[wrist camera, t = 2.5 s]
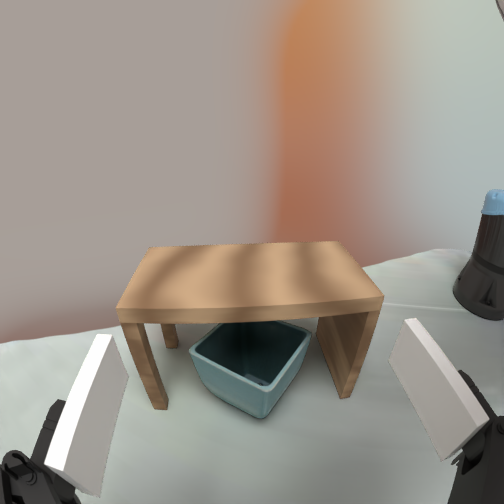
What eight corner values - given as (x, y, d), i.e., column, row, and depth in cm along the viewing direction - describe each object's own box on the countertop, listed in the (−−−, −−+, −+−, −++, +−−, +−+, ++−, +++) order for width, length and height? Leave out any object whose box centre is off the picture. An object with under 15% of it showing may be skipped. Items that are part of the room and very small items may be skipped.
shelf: (323, 333, 39) (338, 241, 33) (349, 397, 28) (384, 295, 22) (168, 340, 38) (149, 247, 31) (154, 409, 27) (115, 308, 21)
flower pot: (265, 440, 24) (269, 392, 20) (198, 403, 28) (185, 349, 24) (303, 385, 30) (314, 330, 27) (241, 359, 35) (240, 304, 31)
